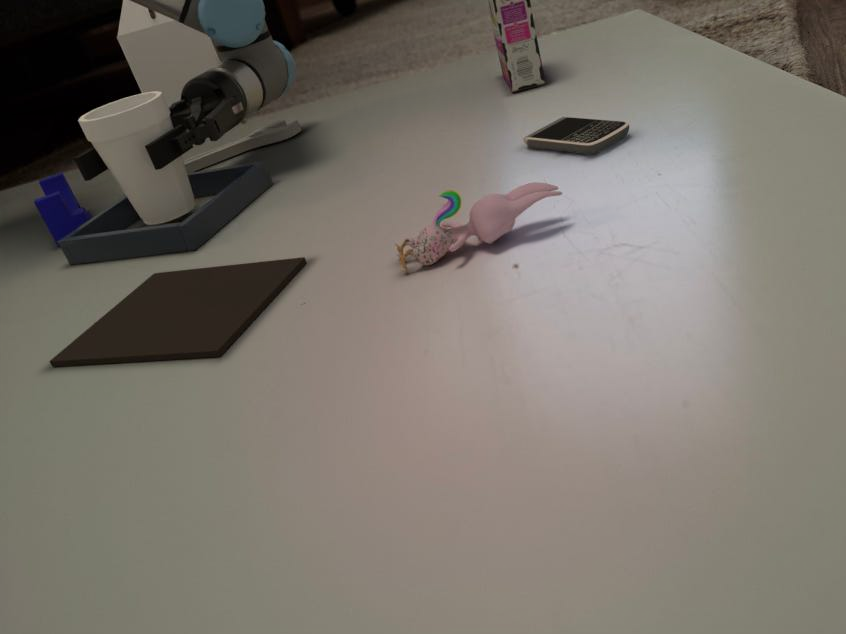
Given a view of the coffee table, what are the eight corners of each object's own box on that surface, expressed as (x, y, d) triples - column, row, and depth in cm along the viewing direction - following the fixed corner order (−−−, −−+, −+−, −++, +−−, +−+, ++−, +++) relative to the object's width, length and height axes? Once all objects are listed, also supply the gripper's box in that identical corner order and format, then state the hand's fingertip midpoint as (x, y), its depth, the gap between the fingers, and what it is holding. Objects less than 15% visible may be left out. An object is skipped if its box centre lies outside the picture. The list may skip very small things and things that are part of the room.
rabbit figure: (413, 295, 71) (575, 219, 70) (382, 235, 68) (550, 155, 67) (408, 266, 77) (558, 195, 76) (378, 209, 74) (534, 135, 73)
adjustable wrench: (134, 196, 117) (128, 184, 116) (132, 186, 122) (126, 174, 121) (303, 134, 122) (299, 122, 121) (294, 126, 127) (289, 115, 127)
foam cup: (158, 202, 106) (110, 100, 99) (221, 191, 103) (176, 85, 96) (116, 235, 98) (61, 127, 91) (183, 224, 95) (131, 112, 89)
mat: (52, 366, 74) (48, 361, 74) (156, 278, 86) (154, 273, 86) (220, 356, 68) (217, 350, 67) (306, 262, 80) (304, 256, 80)
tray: (69, 265, 97) (56, 241, 96) (158, 200, 111) (148, 179, 110) (195, 250, 91) (184, 225, 89) (273, 183, 105) (264, 160, 103)
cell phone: (595, 158, 85) (593, 144, 84) (521, 149, 93) (518, 136, 92) (635, 134, 87) (633, 121, 87) (560, 128, 95) (557, 115, 95)
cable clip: (94, 234, 105) (71, 189, 102) (58, 247, 104) (33, 202, 101) (94, 209, 115) (73, 168, 112) (61, 221, 114) (39, 180, 111)
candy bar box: (548, 84, 112) (522, -48, 104) (512, 94, 113) (483, -37, 104) (535, 67, 122) (510, -55, 114) (502, 76, 122) (474, -45, 114)
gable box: (239, 121, 140) (167, -61, 126) (163, 143, 140) (82, -36, 126) (250, 92, 159) (189, -69, 145) (183, 111, 159) (115, -47, 145)
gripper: (303, 114, 108) (212, 183, 91) (166, 138, 116) (58, 205, 99) (282, 55, 104) (183, 115, 87) (142, 83, 112) (25, 144, 95)
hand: (116, 163), depth 93 cm, fingers closed on foam cup, 9 cm apart
